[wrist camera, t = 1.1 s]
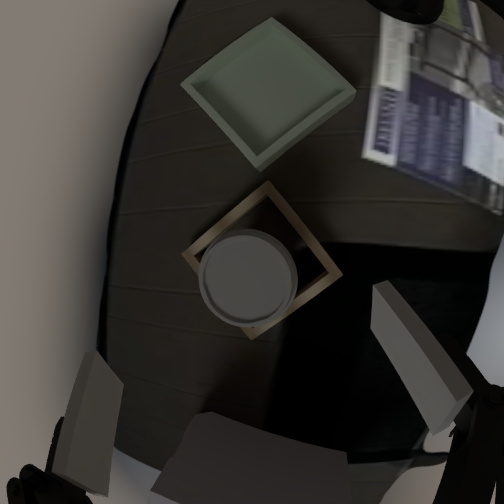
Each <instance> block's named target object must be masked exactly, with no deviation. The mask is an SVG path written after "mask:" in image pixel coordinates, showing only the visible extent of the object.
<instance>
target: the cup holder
mask: <svg viewBox="0 0 504 504" xmlns="http://www.w3.org/2000/svg"><path fill="white" fill-rule="evenodd" d="M268 196H269V197H270V199H271V200H272V201H273V202H274V204H275V205H276V206H277V207H278V208H279V210H280V211H281V212H282V213H283V215H284V216H285V217H286V218H287V220H288V221H289V222H290V223H291V225H292V226H293V227H294V228H295V230H296V231H297V232H298V233H299V235H300V236H301V237H302V239H303V240H304V241H305V242H306V244H307V245H308V246H309V248H310V249H311V250H312V251H313V253H314V254H315V255H316V257H317V258H318V259H319V260H320V262H321V263H322V264H323V266H324V267H325V268H326V271H325V272H323V273H322V274H321V275H319V276H318V277H317V278H315V279H314V280H313V281H311V282H310V283H309V284H307V285H306V286H305V287H303V288H302V289H301V290H299V291H298V292H297V293H296V294H295V297H294V299H293V301H292V303H291V305H290V307H289V308H288V309H287V310H286V311H285V313H284V314H283V315H282V316H280V317H279V318H278V319H276V320H275V321H273V322H271V323H268V324H266V325H262V326H257V327H240V326H239V327H240V328H241V329H242V330H243V331H244V332H245V334H246V335H247V336H248V337H249V338H250V340H253V339H254V338H256V337H257V336H259V335H260V334H262V333H263V332H264V331H266V330H267V329H269V328H270V327H272V326H273V325H275V324H276V323H278V322H279V321H281V320H282V319H283V318H285V317H286V316H288V315H289V314H291V313H292V312H293V311H295V310H296V309H298V308H299V307H300V306H302V305H303V304H305V303H306V302H307V301H309V300H310V299H311V298H313V297H314V296H315V295H317V294H318V293H320V292H321V291H322V290H324V289H325V288H326V287H328V286H329V285H330V284H332V283H333V282H334V281H336V280H337V279H338V278H339V277H341V276H342V275H343V274H342V273H341V271H340V270H339V268H338V267H337V266H336V264H335V263H334V262H333V260H332V259H331V258H330V256H329V255H328V254H327V252H326V251H325V250H324V248H323V247H322V246H321V245H320V243H319V242H318V241H317V239H316V238H315V237H314V235H313V234H312V233H311V232H310V230H309V229H308V228H307V227H306V225H305V224H304V223H303V221H302V220H301V219H300V218H299V216H298V215H297V214H296V213H295V211H294V210H293V209H292V208H291V206H290V205H289V204H288V203H287V202H286V200H285V199H284V198H283V197H282V195H281V194H280V193H279V192H278V191H277V189H276V188H275V187H274V186H273V185H272V183H271V182H270V181H269V180H267V181H266V182H265V183H264V184H262V185H261V186H260V187H259V188H258V189H256V190H255V191H254V192H253V193H252V194H250V195H249V196H248V197H247V198H246V199H244V200H243V201H242V202H241V203H240V204H238V205H237V206H236V207H235V208H234V209H233V210H231V211H230V212H229V213H228V214H227V215H225V216H224V217H223V218H222V219H221V220H220V221H218V222H217V223H216V224H215V225H214V226H213V227H212V228H210V229H209V230H208V231H207V232H206V233H205V234H204V235H202V236H201V237H200V238H199V239H198V240H197V241H196V242H194V243H193V244H192V245H191V246H190V247H189V248H188V249H187V250H185V251H184V252H183V253H182V255H183V257H184V258H185V259H186V261H187V262H188V263H189V264H190V266H191V267H192V268H193V270H194V271H195V272H196V273H197V275H198V276H199V267H200V263H201V260H202V257H203V256H202V255H201V252H202V251H203V250H204V249H205V248H207V247H208V246H209V245H210V244H211V243H212V242H213V241H214V240H216V239H217V238H218V237H220V236H221V235H222V234H223V233H224V232H225V231H227V230H228V229H229V228H230V227H231V226H233V225H234V224H235V223H236V222H237V221H239V220H240V219H241V218H242V217H243V216H244V215H246V214H247V213H248V212H249V211H251V210H252V209H253V208H254V207H255V206H257V205H258V204H259V203H260V202H261V201H263V200H264V199H265V198H266V197H268Z"/></svg>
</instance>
